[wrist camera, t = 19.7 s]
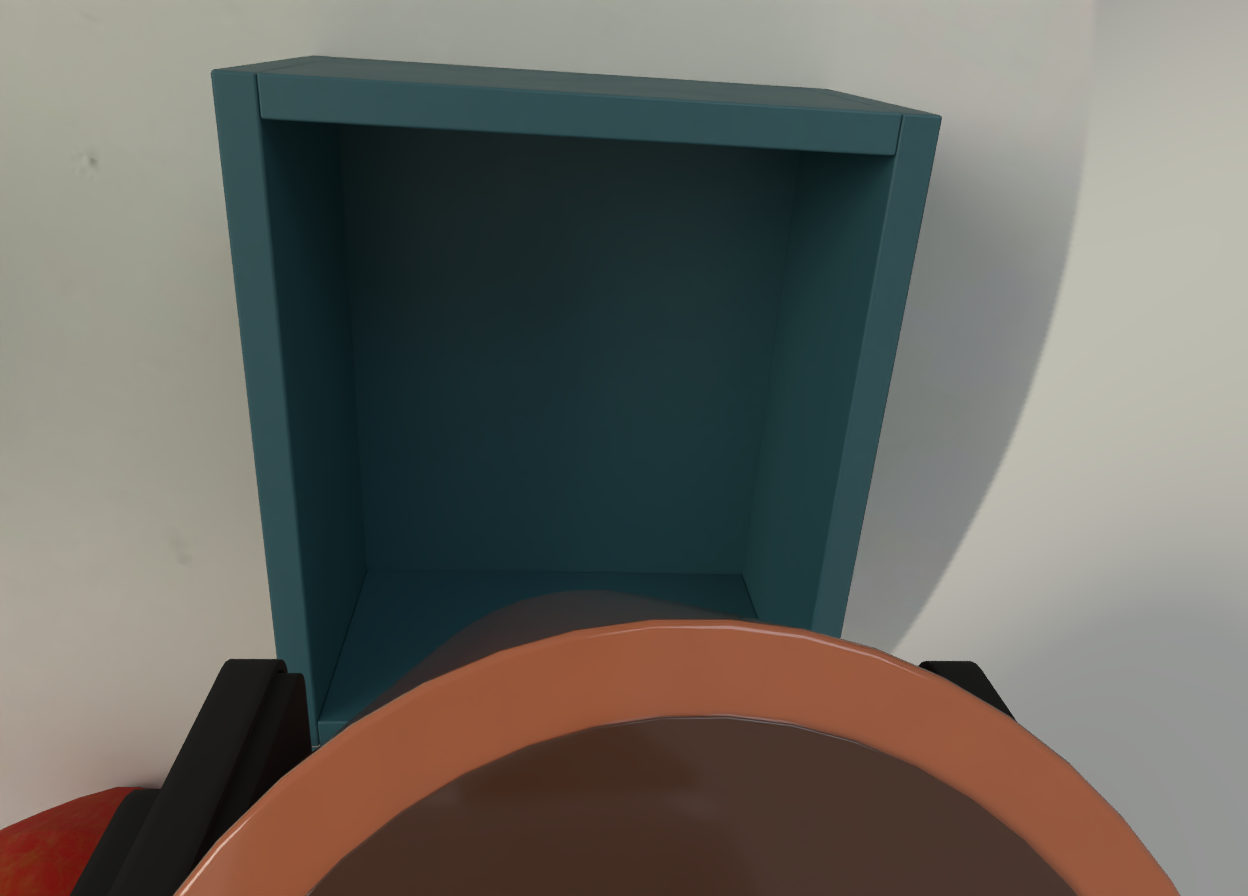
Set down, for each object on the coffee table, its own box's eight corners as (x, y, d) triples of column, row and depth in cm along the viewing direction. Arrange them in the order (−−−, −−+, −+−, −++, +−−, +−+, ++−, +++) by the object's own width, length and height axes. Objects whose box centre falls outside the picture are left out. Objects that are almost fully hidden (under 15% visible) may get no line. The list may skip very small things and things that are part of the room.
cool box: (309, 55, 23) (209, 68, 16) (829, 89, 25) (943, 115, 18) (346, 576, 30) (286, 748, 23) (757, 581, 31) (820, 744, 24)
